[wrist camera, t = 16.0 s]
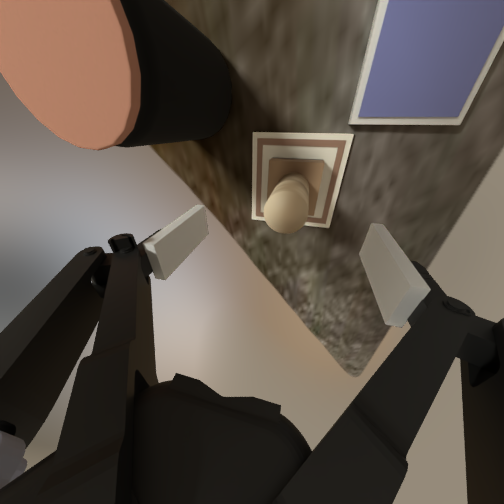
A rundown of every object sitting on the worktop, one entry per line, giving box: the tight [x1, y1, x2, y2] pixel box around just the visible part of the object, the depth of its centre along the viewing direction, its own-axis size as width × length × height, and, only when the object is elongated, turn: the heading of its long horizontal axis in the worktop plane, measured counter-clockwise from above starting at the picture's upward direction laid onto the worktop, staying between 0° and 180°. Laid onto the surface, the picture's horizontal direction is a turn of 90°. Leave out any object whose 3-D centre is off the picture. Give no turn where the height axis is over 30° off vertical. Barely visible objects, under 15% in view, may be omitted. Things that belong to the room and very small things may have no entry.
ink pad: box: [348, 0, 504, 125], centre depth 19 cm, size 11×11×2 cm
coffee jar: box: [0, 0, 232, 150], centre depth 18 cm, size 11×11×18 cm
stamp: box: [264, 157, 325, 234], centre depth 24 cm, size 7×7×12 cm
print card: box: [252, 132, 354, 228], centre depth 28 cm, size 13×13×1 cm
